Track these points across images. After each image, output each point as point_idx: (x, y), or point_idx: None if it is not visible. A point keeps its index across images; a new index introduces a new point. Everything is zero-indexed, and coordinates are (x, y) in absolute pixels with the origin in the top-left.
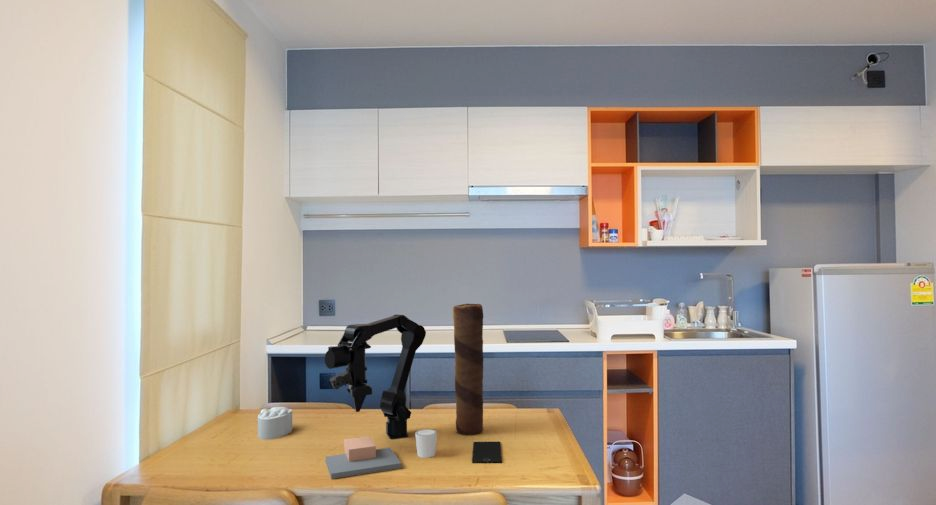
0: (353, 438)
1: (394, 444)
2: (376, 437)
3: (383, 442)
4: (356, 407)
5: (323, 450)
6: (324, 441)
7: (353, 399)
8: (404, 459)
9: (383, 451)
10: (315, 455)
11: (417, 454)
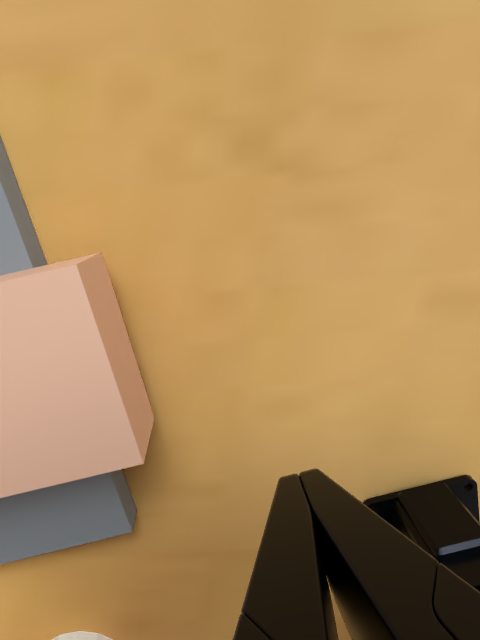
0: (97, 344)
1: None
2: (424, 422)
3: (319, 465)
4: (269, 540)
5: (245, 75)
6: (455, 61)
7: (393, 631)
8: (15, 580)
9: (62, 501)
10: (139, 17)
11: (74, 635)
